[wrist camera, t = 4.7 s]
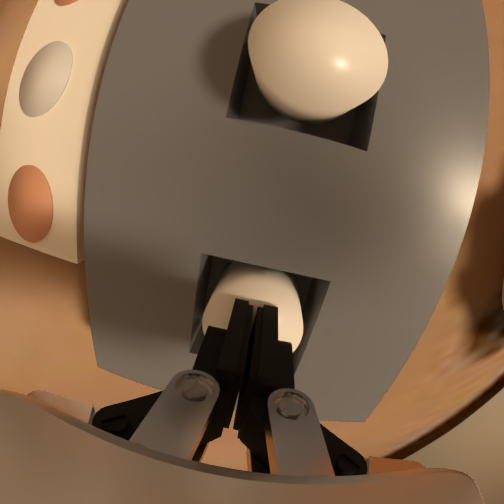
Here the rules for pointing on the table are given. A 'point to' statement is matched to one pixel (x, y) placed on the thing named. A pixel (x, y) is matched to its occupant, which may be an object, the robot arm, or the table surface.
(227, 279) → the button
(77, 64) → the pattern card
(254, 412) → the robot arm
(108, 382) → the table surface
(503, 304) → the flag stand
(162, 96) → the button panel
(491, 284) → the table surface
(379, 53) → the middle button
